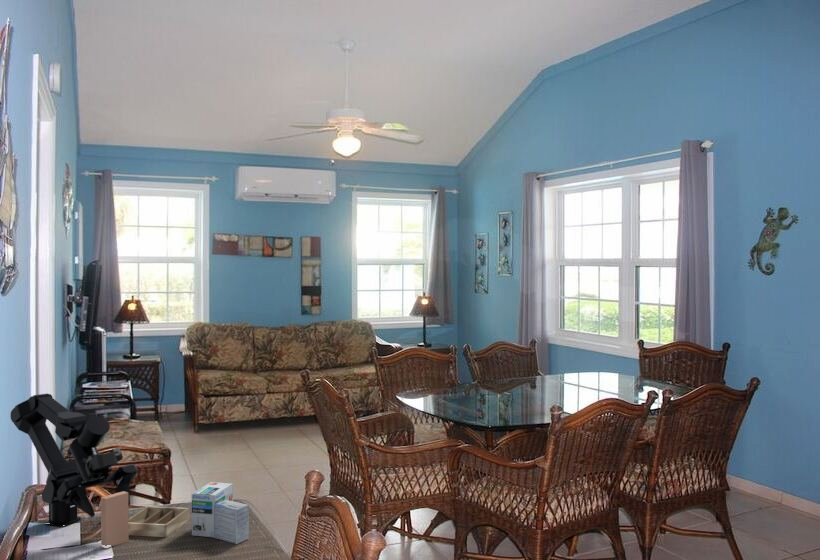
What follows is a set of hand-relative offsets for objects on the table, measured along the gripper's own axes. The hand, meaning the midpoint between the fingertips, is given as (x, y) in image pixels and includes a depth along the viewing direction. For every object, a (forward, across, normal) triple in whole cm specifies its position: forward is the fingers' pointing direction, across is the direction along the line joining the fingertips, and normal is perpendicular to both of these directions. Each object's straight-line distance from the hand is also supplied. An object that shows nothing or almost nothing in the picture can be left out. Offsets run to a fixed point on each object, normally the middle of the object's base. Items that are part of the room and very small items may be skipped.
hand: (111, 510), depth 174 cm
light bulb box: (+15, +20, -3) cm, 25 cm away
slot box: (+5, +13, +6) cm, 15 cm away
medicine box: (+21, +19, -10) cm, 30 cm away
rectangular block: (+7, 0, +4) cm, 8 cm away
